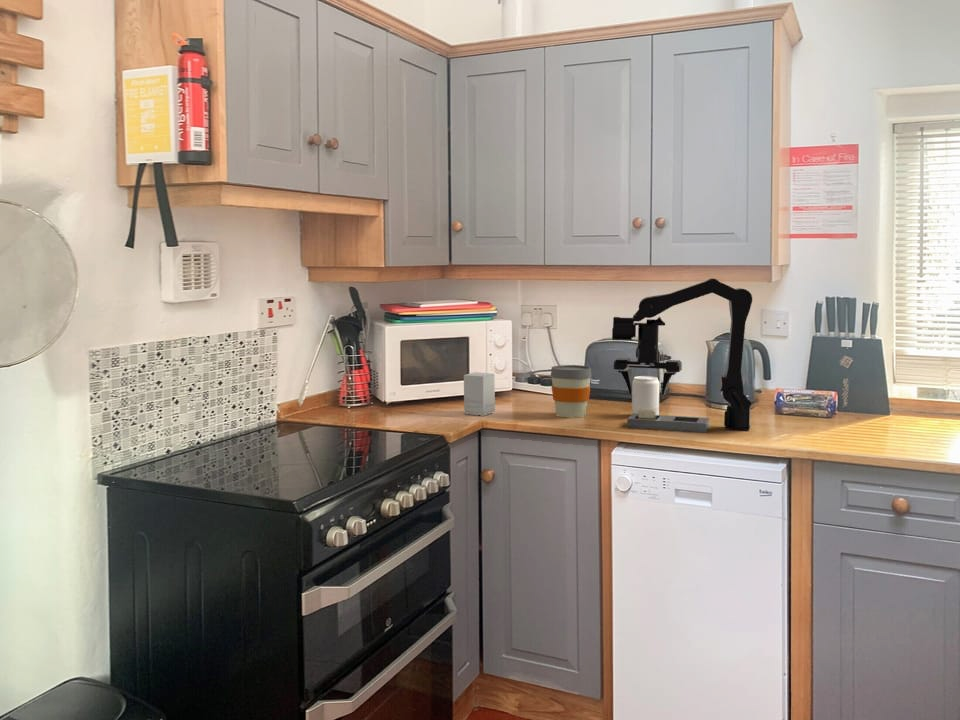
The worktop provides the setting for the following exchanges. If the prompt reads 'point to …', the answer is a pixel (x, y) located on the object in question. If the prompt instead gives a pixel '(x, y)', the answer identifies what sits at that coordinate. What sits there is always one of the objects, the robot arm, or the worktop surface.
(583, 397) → the reusable coffee cup
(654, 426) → the grey compartment tray
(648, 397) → the beverage can
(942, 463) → the worktop surface
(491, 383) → the supplement box
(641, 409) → the block
